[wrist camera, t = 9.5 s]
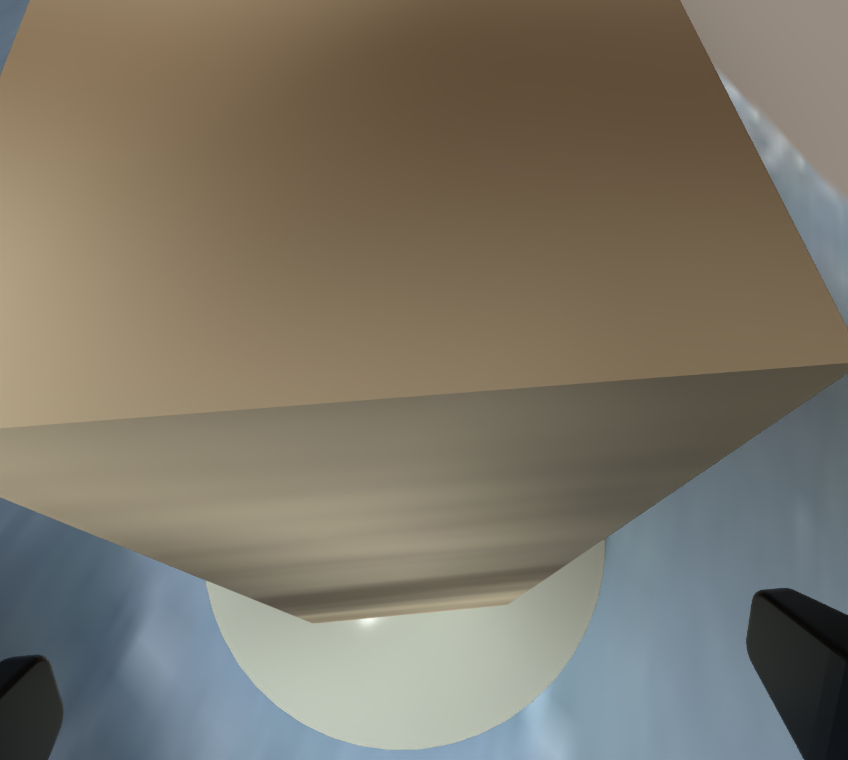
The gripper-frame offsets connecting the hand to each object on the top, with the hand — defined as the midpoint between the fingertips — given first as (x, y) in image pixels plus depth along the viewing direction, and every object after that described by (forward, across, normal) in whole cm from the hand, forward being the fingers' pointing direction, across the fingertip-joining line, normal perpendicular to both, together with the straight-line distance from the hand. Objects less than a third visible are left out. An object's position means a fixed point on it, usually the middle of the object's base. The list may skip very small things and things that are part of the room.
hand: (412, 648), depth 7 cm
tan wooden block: (+8, 0, +3) cm, 8 cm away
